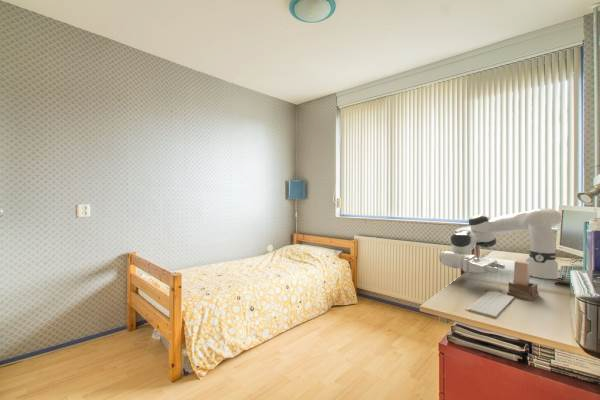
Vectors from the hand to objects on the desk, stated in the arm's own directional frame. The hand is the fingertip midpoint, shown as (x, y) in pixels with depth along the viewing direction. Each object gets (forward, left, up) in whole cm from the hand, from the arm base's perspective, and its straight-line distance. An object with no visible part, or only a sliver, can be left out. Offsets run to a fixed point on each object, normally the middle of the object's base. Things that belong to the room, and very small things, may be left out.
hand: (501, 268), depth 145 cm
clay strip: (0, +8, -9) cm, 12 cm away
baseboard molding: (+24, +3, -12) cm, 27 cm away
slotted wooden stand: (0, +9, -11) cm, 14 cm away
